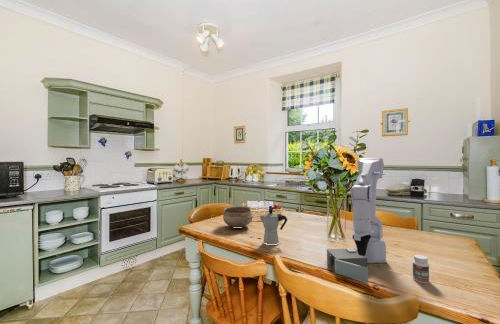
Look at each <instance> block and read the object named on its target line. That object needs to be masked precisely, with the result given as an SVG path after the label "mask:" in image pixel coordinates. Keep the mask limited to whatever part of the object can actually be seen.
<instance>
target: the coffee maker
mask: <svg viewBox="0 0 500 324" xmlns="http://www.w3.org/2000/svg"><path fill="white" fill-rule="evenodd" d="M273 212H274V209H273V208H268V213H264V214H263V215H259V216H258V217H259V218H260V220H261V223H262V224H263V228H264V236H263V242H264V243H267V244H277V243H279V244H280V240H279V235H278V228H279V229H280V230H281V231H282V230H283V228H284V227H285V225H286V224H287V222H288V218H287V216H285V215H282V214H281V213H278V214H277V213H273ZM283 220H284V221H283ZM280 221H283V223H282V224H281V226H280V227H279V222H280ZM263 242H262V243H263Z"/></svg>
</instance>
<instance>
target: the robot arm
mask: <svg viewBox="0 0 500 324" xmlns="http://www.w3.org/2000/svg"><path fill="white" fill-rule="evenodd" d="M356 164H357V171H358V174H359V175H358V176H357V177H356V181H355V184H354V185H352V186H351V189H350V196H351V197H350V198H351V204H352V219H353V221H352V225H353V228H352V232H353V234H352V239H353V241H354V243H355V247H356V250H357V251H358V255H361V256H366V257H367V264H375V263H381V264H382V263H388V261H387V245H386V242H385V240H384V239H383V234H384V233H383V232H384V231H383V229H384V228H383V222H382V220H381V219H380V218H379V217H377V216H376V212H377V211H376V209H377V208H376V206H377V184H378V180H379V179H383V175H384V159H383V157H359V158H358V159H357V163H356Z"/></svg>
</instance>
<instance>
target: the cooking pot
mask: <svg viewBox="0 0 500 324" xmlns="http://www.w3.org/2000/svg"><path fill="white" fill-rule="evenodd" d="M223 210H224V211H223V212H222V213H223V216H222V218H223V219H222V220H223V222H224V224H225V225H227V226H229V227H230V226H231V228H232V227H243V228H245V227H247V226H248V225H250V223H251V222H252V220H253V218H254V215H253V213H252V207H250V206H247V205H245V206H244V205H233V206H227V207H224V208H223ZM244 226H245V227H244Z"/></svg>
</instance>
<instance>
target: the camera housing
mask: <svg viewBox="0 0 500 324" xmlns="http://www.w3.org/2000/svg"><path fill="white" fill-rule="evenodd" d="M335 259H337V260H341V261H345V262H348V263H352V264H356V265H360V266H364V267H367V268H368V263H367V257H366V256H361V255H358V251H357V248H353V247H352V248H349V247H348V248H329V249H328V248H327V249H326V262H327V264H328V265H329V267H331V266H332V267H331V268H332V270H334V271H335Z"/></svg>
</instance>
